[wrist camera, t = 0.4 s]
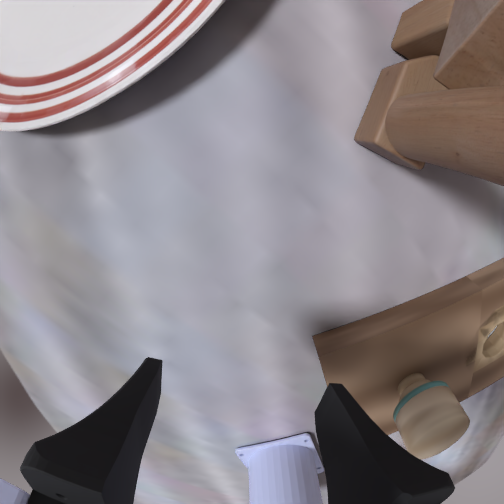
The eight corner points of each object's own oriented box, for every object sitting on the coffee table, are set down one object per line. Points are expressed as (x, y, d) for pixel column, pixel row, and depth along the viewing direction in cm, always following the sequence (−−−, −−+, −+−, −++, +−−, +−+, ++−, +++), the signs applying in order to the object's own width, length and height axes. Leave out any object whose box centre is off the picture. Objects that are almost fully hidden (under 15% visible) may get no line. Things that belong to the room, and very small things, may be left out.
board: (520, 346, 27) (531, 358, 24) (340, 431, 29) (345, 449, 26) (535, 240, 22) (551, 250, 19) (312, 336, 24) (318, 356, 22)
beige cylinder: (435, 390, 24) (464, 440, 18) (385, 412, 25) (407, 467, 18) (437, 352, 22) (474, 405, 16) (381, 376, 23) (410, 437, 17)
